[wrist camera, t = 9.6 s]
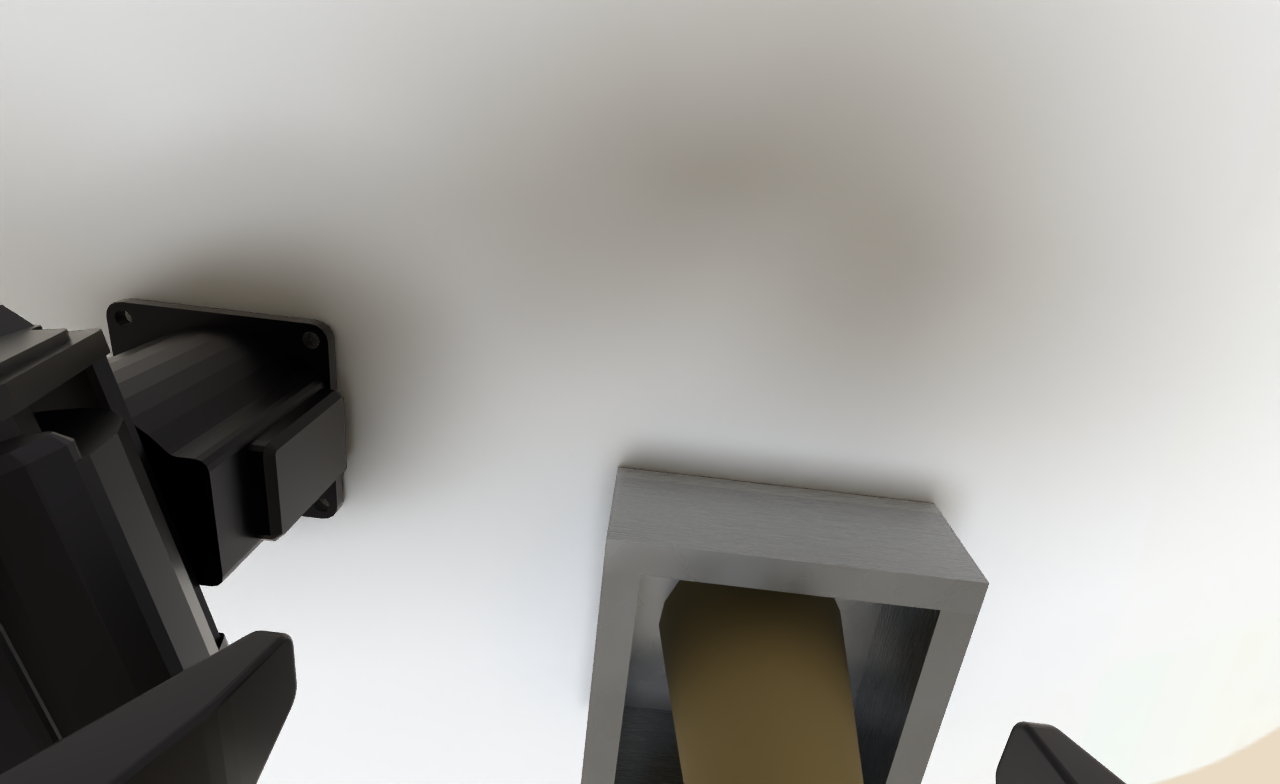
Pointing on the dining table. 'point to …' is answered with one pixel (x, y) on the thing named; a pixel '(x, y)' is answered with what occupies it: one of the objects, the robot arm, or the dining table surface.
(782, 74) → the dining table surface
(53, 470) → the robot arm
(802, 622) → the cork
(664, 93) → the dining table surface
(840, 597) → the square metal tray
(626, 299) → the dining table surface
